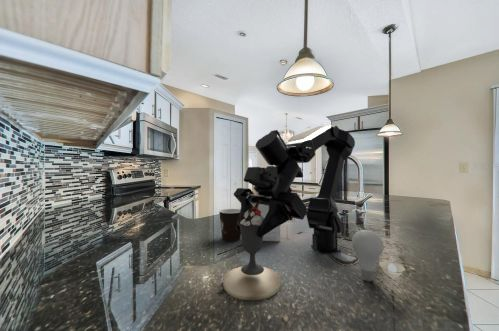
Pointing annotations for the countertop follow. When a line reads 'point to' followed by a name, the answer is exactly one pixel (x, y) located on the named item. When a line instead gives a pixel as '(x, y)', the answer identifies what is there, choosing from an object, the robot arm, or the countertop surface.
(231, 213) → the coffee mug
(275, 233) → the supplement box
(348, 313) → the countertop surface
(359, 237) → the lightbulb
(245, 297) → the coaster
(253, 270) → the sundae
